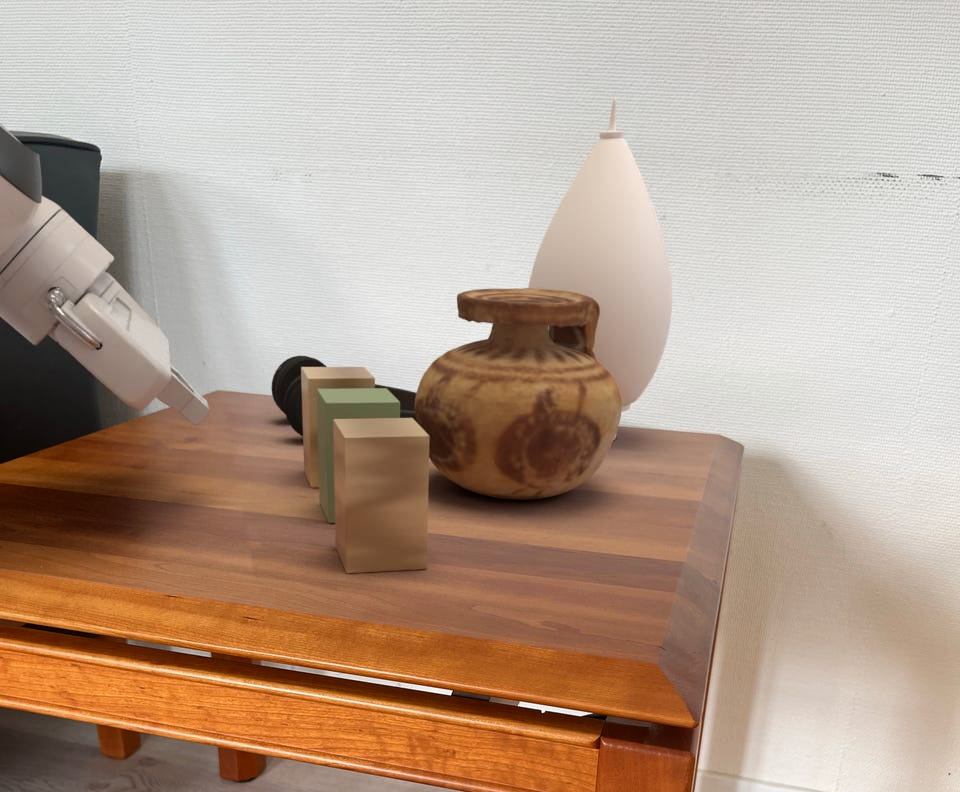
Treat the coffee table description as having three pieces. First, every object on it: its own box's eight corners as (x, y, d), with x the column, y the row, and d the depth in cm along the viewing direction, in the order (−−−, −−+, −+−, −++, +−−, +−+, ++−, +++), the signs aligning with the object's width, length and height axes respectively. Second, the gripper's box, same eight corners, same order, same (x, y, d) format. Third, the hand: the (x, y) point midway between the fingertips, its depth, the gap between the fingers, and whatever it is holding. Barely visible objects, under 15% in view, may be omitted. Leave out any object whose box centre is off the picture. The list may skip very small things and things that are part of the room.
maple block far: (311, 487, 94) (307, 378, 90) (304, 471, 100) (300, 366, 96) (375, 485, 96) (375, 377, 92) (365, 469, 101) (364, 366, 97)
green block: (328, 523, 85) (325, 402, 81) (319, 503, 90) (316, 388, 86) (399, 520, 86) (400, 401, 82) (386, 500, 92) (386, 388, 88)
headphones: (271, 346, 119) (434, 372, 126) (264, 410, 122) (424, 431, 129) (293, 371, 104) (475, 398, 112) (284, 443, 107) (463, 464, 114)
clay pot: (538, 501, 82) (479, 251, 80) (401, 532, 97) (347, 321, 94) (678, 464, 95) (631, 246, 92) (538, 497, 109) (494, 309, 106)
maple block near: (346, 573, 74) (344, 437, 70) (335, 547, 80) (333, 418, 76) (427, 569, 76) (429, 435, 72) (410, 543, 81) (412, 417, 77)
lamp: (677, 451, 114) (721, 97, 99) (541, 454, 110) (565, 86, 96) (627, 421, 128) (658, 106, 113) (504, 422, 124) (521, 97, 110)
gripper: (74, 262, 65) (240, 412, 72) (92, 246, 83) (223, 367, 90) (9, 334, 66) (179, 477, 72) (41, 303, 84) (175, 419, 90)
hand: (203, 416), depth 81 cm, fingers closed
